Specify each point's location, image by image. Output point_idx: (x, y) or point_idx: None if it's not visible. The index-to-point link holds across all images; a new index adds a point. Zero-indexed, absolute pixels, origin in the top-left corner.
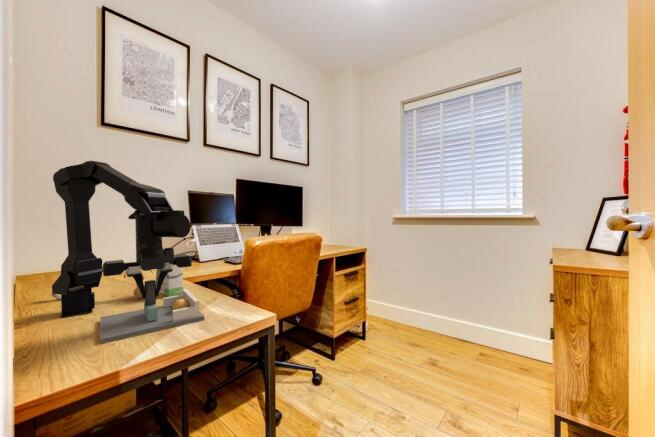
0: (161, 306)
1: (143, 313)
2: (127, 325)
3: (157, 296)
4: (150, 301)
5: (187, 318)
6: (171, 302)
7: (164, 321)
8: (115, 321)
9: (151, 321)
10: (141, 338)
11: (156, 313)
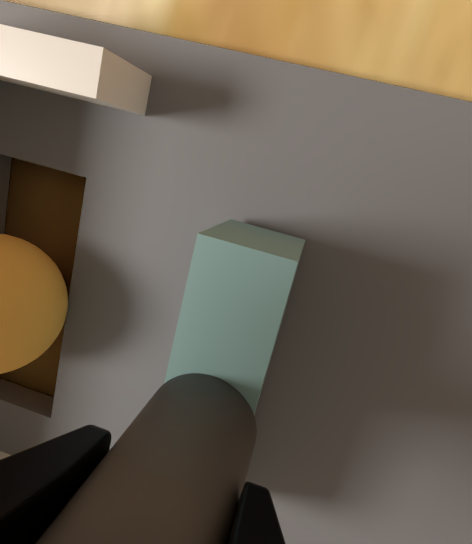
0: None
1: None
2: (447, 325)
3: (95, 427)
4: (205, 402)
5: None
6: None
7: (201, 148)
8: (461, 505)
9: None
10: (461, 2)
11: (224, 227)
